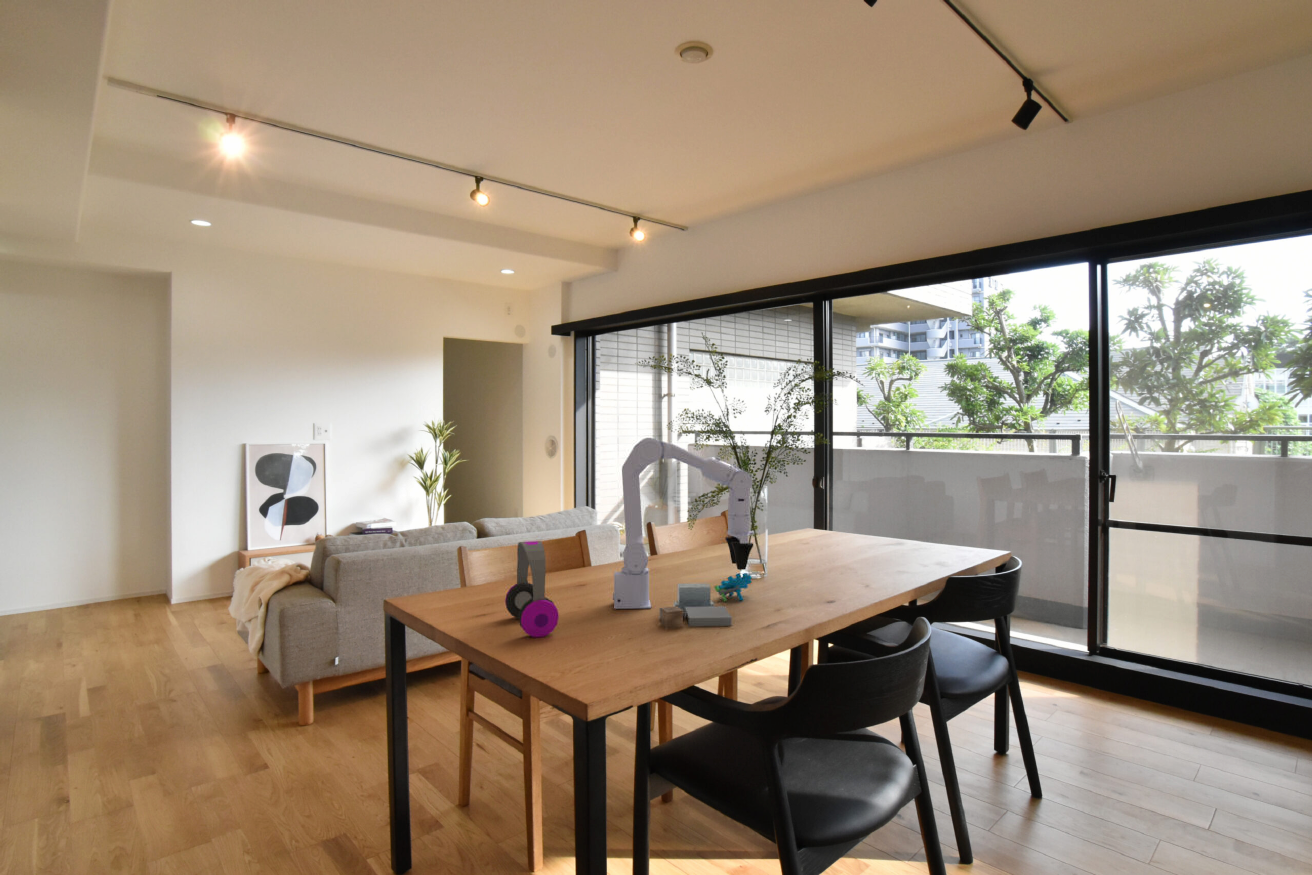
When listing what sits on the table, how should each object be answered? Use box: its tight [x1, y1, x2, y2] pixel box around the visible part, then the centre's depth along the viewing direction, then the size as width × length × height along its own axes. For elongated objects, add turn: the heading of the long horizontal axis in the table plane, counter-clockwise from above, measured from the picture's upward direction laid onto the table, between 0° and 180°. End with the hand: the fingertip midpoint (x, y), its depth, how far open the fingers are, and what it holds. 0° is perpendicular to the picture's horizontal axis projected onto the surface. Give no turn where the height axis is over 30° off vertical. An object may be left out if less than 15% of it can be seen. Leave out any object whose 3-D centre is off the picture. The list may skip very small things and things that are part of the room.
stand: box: [684, 605, 733, 627], centre depth 164 cm, size 10×10×2 cm
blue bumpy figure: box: [713, 572, 753, 603], centre depth 185 cm, size 11×6×10 cm
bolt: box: [658, 607, 686, 621], centre depth 165 cm, size 6×3×3 cm, turn 94°
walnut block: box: [660, 606, 684, 630], centre depth 160 cm, size 4×4×4 cm
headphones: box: [504, 540, 560, 638], centre depth 159 cm, size 21×9×20 cm, turn 23°
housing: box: [673, 582, 715, 612], centre depth 175 cm, size 10×4×6 cm, turn 94°
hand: (738, 566), depth 180 cm, fingers open, 7 cm apart
